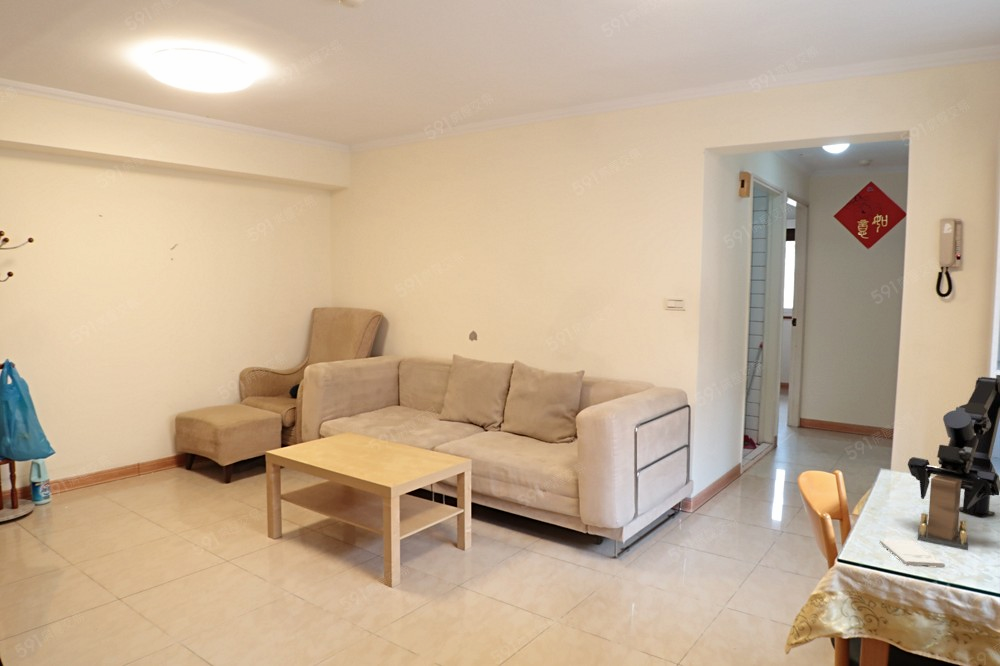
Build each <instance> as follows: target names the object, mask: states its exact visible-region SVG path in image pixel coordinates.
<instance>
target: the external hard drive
mask: <svg viewBox="0 0 1000 666" xmlns="http://www.w3.org/2000/svg"><path fill="white" fill-rule="evenodd" d="M880 543H881V544H882V545H883V546H884V547H883V546H882V545H881V544H880ZM879 544H880V545H881V546H882V547H883V548H885V549H886V548H887V549H888V550H889V551H890V552H889V551H888V550H887V549H886V550H887V551H888V552H889V553H891V552H892V553H893V554H894V555H895V556H897V557H898V558H899V559H900V560H901V561H902V562H903V563H902V562H901V561H900V560H899V559H898V558H897V559H898V560H899V561H900V562H901V563H902V564H903V565H905V564H906V565H905V566H909V565H915V566H914V567H928V566H936V567H935V568H942V567H945V568H946V564H945V563H944V562H943V561H941V559H938V558H937V556H935V555H933V554H932V553H931V552H930V551H929V550H927V549H926V548H924V547H923V546H922V545H920V544H919V543H917V542H916V541H914V540H904V539H903V540H901V539H885V538H884V539H879ZM892 553H891V554H892ZM893 554H892V555H893ZM894 555H893V556H894ZM895 556H894V557H895Z"/></svg>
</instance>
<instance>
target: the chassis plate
mask: <svg viewBox="0 0 1000 666" xmlns="http://www.w3.org/2000/svg"><path fill="white" fill-rule="evenodd" d="M928 519H929V514H927V513H921V514H920V523H919V524H918V531H917V539H916V540H917V541H921V542H925V543H927V542H928V543H931V542H932V544H936V545H941V546H947V547H951V548H957V549H961V550H965V551H968V550H969V540H968V531H967V521H966V520H960V519H959V523H958V535H957V536H956V537H954V538H953V539H952V540H950V539H946V538H942V537H938V536H935V535H931V534H928Z"/></svg>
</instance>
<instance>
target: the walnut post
mask: <svg viewBox="0 0 1000 666" xmlns="http://www.w3.org/2000/svg"><path fill="white" fill-rule="evenodd" d="M961 491H962V489H961V479H956V478H951V477H947V476H942V475H936V474H935V476H932V477H931V479H930V491H929V505H928V520H927V525H928V534H931V535H935V536H938V537H942V538H946V539H950V540H952V539H953V538H954V537H956V536H957V535H958V531H959V522H960V511H959V509H960V507H961V506H960V505H961V494H962V493H961Z"/></svg>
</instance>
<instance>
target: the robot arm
mask: <svg viewBox="0 0 1000 666" xmlns="http://www.w3.org/2000/svg"><path fill="white" fill-rule="evenodd" d="M942 419H943V424H944V427H945V432H946V434H947V437H948V438H949V442H948V444H947V445H945V444H939V446H938V450H937V456H936V458H938V464H939V465H940V466H936V465H935V466H934V465H930V462H929V459H926V458H922V457H921V458H920V457H915V456H913V457H910V458H909V460H908V461H907V467H908V470H909V472H910V475H911V477H912V476H913V477H914V478H915V479H916V481H918V482H919V489H920V498H921V499H922V500H924V499H925V498H926V495H927V492H928V489H929V485H930V483H931V480H930V477H931V475H935V476H936V475H942V476H947V477H951V478H956V479H961V490H964V491H963V493H964V494H963V501H962V502H963V503H962V506H960V509H959V512H963V513H966V514H969V515H973V516H976V517H979V518H984V517H989V516H993V515H996V512H995V511H993V510H992V511H991V510H990V502H991V501H990V499H991V496H992V497H994V496H1000V476H999V474H998V473H997V471H996V469H995V467H994V464H993V463H992V461H991V460H992V456H993V451H994V446H995V442H996V438H997V434H998V433H997V432H998V429H999V424H1000V378H997V377H986V376H980V377H978V378H977V380H976V381H975V385H974V390H973V392H972V394H971V395H970V397H969V399H968V401H967V403H966V404H962V405H959V406H956V408H955V410H950V411H948V412H946V413H945V414H944V415H943V418H942Z"/></svg>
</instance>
